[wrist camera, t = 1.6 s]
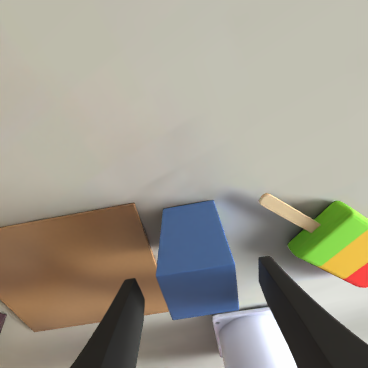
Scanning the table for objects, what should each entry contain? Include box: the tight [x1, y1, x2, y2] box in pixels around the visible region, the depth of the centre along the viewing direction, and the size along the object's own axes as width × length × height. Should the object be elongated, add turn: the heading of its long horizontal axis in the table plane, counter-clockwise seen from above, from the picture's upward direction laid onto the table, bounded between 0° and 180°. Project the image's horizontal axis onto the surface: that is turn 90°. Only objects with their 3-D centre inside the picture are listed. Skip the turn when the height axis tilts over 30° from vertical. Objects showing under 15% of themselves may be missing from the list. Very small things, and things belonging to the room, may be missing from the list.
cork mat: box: [0, 203, 169, 332], centre depth 18 cm, size 14×16×1 cm
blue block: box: [156, 200, 239, 320], centre depth 13 cm, size 4×4×6 cm
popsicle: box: [259, 193, 368, 288], centre depth 15 cm, size 6×15×2 cm, turn 59°
